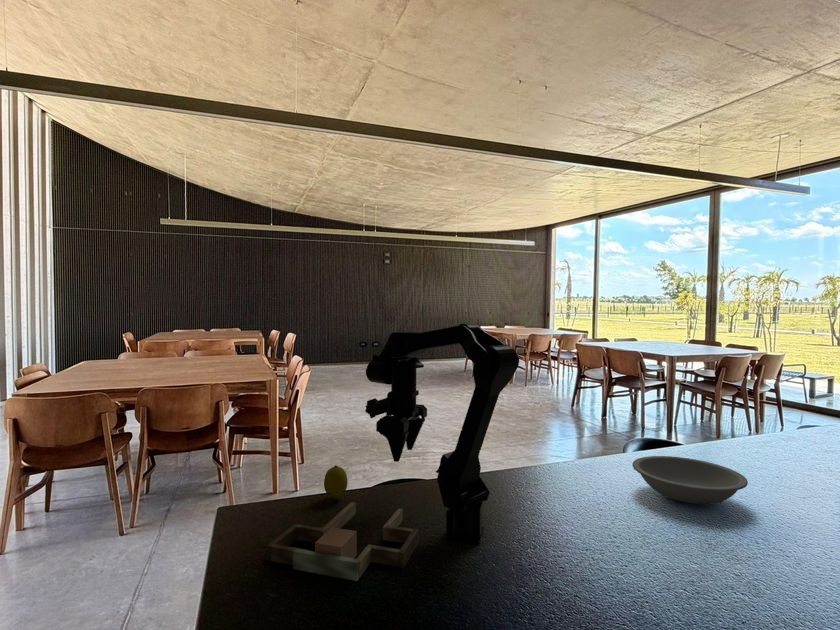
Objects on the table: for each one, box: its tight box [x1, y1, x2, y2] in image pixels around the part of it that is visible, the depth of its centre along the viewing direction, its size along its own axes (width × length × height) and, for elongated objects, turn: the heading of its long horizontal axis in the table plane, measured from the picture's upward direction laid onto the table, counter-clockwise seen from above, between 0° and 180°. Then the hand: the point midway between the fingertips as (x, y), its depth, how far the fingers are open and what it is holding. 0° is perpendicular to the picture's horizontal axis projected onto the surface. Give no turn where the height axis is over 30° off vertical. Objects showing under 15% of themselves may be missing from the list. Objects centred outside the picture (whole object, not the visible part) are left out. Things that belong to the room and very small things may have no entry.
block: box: [314, 527, 358, 559], centre depth 78 cm, size 5×6×4 cm
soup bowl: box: [632, 455, 749, 505], centre depth 108 cm, size 24×24×7 cm
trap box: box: [266, 501, 420, 582], centre depth 85 cm, size 24×23×3 cm
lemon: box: [323, 465, 349, 500], centre depth 106 cm, size 6×6×8 cm
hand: (403, 455), depth 101 cm, fingers open, 9 cm apart
